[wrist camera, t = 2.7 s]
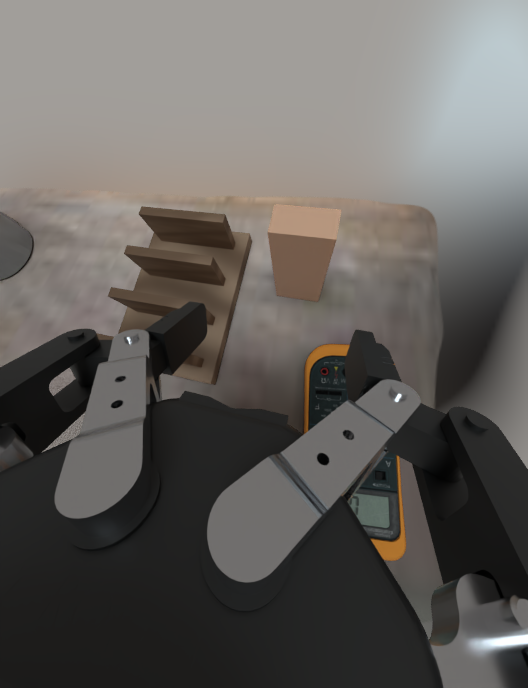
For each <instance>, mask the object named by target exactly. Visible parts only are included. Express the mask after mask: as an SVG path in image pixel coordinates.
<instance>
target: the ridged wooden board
mask: <svg viewBox="0 0 528 688" xmlns="http://www.w3.org/2000/svg"><path fill="white" fill-rule="evenodd" d="M139 215H140V216H141V217H142V218H143V220H144V221H145V222H146V223H147V224H148V226H149V227H150V228H151V229H152V230H153V231H154V234H153V237H152V240H151V243H150V245H149V248H144V247H136V246H128V245H127V247H126V249H125V252H124V254H125V255H126V256H128V257H129V258H130V259H131V260H132V261H134V262H135V263H136V264H137V265H138V266H139V267H141V271H140V274H139V276H138V279H137V282H136V285H135V288H134V291H130V290H124V289H118V288H112V287H111V289H110V292H109V295H108V296H109V297H110V298H112V299H114V300H116V301H118V302H120V303H122V304H124V305H126V306H127V310H126V313H125V316H124V319H123V322H122V324H121V327H120V330H119V333H121V332H124V331H127V330H134V329H140V330H145V329H147V328H148V327H150V326H151V325H152V324H154V323H155V322H157V321H158V320H160V319H161V318H162V317H165V315H167V314H168V313H170V312H171V311H174V310H176V309H179V308H181V307H182V306H184V305H185V304H187V303H188V302H189V301H192V302H198V303H203V304H204V305H205V307H206V317H207V335H206V338H205V339H204V340H203V341H202V343H201V344H200V345H199V346H198V347H197V348H196V349H195V350H194V351H193V353H192V354H191V355H190V356H189V357H188V358H187V359H186V360H185V361H184V363H183V364H182V365H181V366H180V367H179V368H178V369H177V370H176V371H175V373H174V374H173V376H178V377H182V378H186V379H191V380H195V381H200V382H204V383H208V384H216V380H217V376H218V372H219V368H220V364H221V360H222V356H223V352H224V348H225V344H226V341H227V337H228V333H229V329H230V325H231V321H232V317H233V313H234V309H235V305H236V301H237V297H238V294H239V290H240V286H241V282H242V278H243V274H244V270H245V266H246V262H247V258H248V254H249V251H250V247H251V243H252V240H251V237H250V234H249V233H240V232H231V229H230V226H229V224H228V221H227V218H226V215H225V214H214V213H204V212H193V211H183V210H172V209H162V208H151V207H141V210H140V212H139ZM119 333H118V334H119ZM96 334H97V333H96ZM97 336H98V339H99V340H113V338H114V337H112V336H107V335H102V334H97Z"/></svg>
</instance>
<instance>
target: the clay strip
mask: <svg viewBox="0 0 528 688" xmlns="http://www.w3.org/2000/svg"><path fill="white" fill-rule="evenodd" d="M340 216H341V210H338V209H326V208H315V207H303V206H291V205H279V204H274V208H273V213H272V217H271V221H270V225H269V229H268V238H269V245H270V252H271V258H272V265H273V272H274V279H275V286H276V293H277V296H282V297H289V298H296V299H302V300H309V301H315V302H318V300H319V297H320V293H321V290H322V287H323V283H324V280H325V276H326V273H327V270H328V266H329V263H330V259H331V256H332V253H333V249H334V246H335V243H336V239H337V233H338V227H339V222H340Z"/></svg>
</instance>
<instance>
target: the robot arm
mask: <svg viewBox="0 0 528 688" xmlns="http://www.w3.org/2000/svg"><path fill="white" fill-rule="evenodd" d="M31 250H32V238H31V235H30V234H29V232H28V231H27V230H26V229H24V228H23V227H21V226H19V225H18V222H16V221H15V220H13V219H12V218H10V217H8V216H7V215H5V214H4V213H2V212H1V211H0V280H1V279H5V278H7V277H10V276H11V275H13V274H15V273H16V272H17V271H18V270H19V269H21V268H22V266H23V265H24V264H25V263H26V261H27V260H28V258H29V256H30V253H31ZM206 335H207V317H206V307H205V305H204V304H203V303H198V302H192V301H189V302H188V303H187V304H185V305H184V306H182V307H181V308H179V309H176V310H174V311H171V312H170V313H168V314H167V315H165V317H162V318H161V319H160V320H158V321H157V322H155V323H154V324H152V325H151V326H150V327H148V328H147V329H145V330H140V329H134V330H127V331H124V332H121V333H119V334H117V335H116V336H115V337H114V338H113V340H99V339H98V336H97V334H96V332H95V331H94V330H92V329H77V330H73V331H69V332H66V333H64V334H62V335H60V336H58V337H56V338H54V339H53V340H51V341H49V342H47V343H45V344H43V345H41V346H40V347H38V348H36V349H34V350H32V351H30V352H28V353H26V354H25V355H23V356H21V357H19V358H17V359H15V360H13V361H12V362H10V363H8V364H6V365H4V366H2V367H0V688H528V469H527V468H526V466H525V465H524V463H523V462H522V460H521V459H520V457H519V456H518V455H517V453H516V452H515V450H514V449H513V447H512V446H511V444H510V443H509V442H508V440H507V439H506V437H505V436H504V434H503V433H502V431H501V430H500V429H499V427H498V426H497V425H496V424H494V423H493V422H492V421H491V420H489V419H488V418H487V417H485V416H483V415H481V414H480V413H478V412H476V411H474V410H471V409H468V408H464V407H454V408H451V409H450V410H449V412H448V413H447V414H444V413H442V412H440V411H437V410H435V409H433V408H430V407H428V406H426V405H423V404H422V403H421V400H420V397H419V395H418V394H417V393H416V391H414V390H413V389H412V388H411V387H409V386H408V385H406V384H404V383H402V382H401V379H400V377H399V374H398V372H397V369H396V367H395V365H394V362H393V360H392V357H391V355H390V352H389V351H388V350H387V349H386V348H385V347H384V346H383V345H382V344H379V343H376V341H375V338H374V335H373V333H372V332H367V331H362V330H355V332H354V334H353V337H352V340H351V343H350V346H349V349H348V352H347V355H346V359H345V376H346V386H347V396H348V400H347V401H346V402H345V403H343V404H342V405H341V406H339V407H338V408H337V409H336V410H334V411H333V412H332V413H331V414H329V415H328V416H327V417H326V418H324V419H323V420H322V421H320V422H319V423H318V424H317V425H315V426H314V427H313V428H312V429H310V430H309V431H308V432H307V433H305V434H304V435H302V434H301V433H300V432H299V431H297V430H296V429H294V428H293V427H291V426H289V425H287V420H288V416H287V415H283V414H279V413H274V412H270V411H266V410H262V409H234V408H230V407H228V406H226V405H224V404H222V403H220V402H218V401H216V400H214V399H212V398H210V397H208V396H204V395H200V394H196V393H191V392H187V391H185V392H184V393H183V394H182V396H181V397H180V398H176V399H167V400H162V393H161V380H160V376H159V375H160V374H161V373H164V374H169V375H173V374H174V373H175V371H176V370H177V369H178V368H179V367H180V366H181V365H182V364H183V363H184V361H185V360H186V359H187V358H188V357H189V356H190V355H191V354H192V353H193V351H194V350H195V349H196V348H197V347H198V346H199V345H200V344H201V343H202V341H203V340H204V339H205V338H206ZM69 367H70V369H71V370H72V372H73V374H74V376H75V378H76V379H75V380H74V381H73V382H71V383H70V384H69V385H67V386H66V387H65V388H63V389H62V390H61V391H59V392H58V393H57V394H56V395H54V396H53V395H52V394H51V392H50V391H49V384H50V382H51V381H52V379H53V378H55V377H56V376H58V375H59V374H60V373H62V372H63V371H65V370H66V369H68V368H69ZM85 411H86V413H85V417H84V420H83V424H82V428H81V431H80V434H79V435H78V436H76V437H75V438H74V439H71V440H69V441H67V442H65V443H62V444H60V445H58V446H56V447H53V448H51V449H49V450H47V451H45V452H42V451H44V450H45V449H46V448H47V447H48V446H49V445H50V444H51V443H52V442H53V441H54V440H55V439H56V438H57V437H59V436H60V435H61V434H62V433H63V432H64V431H65V430H66V429H67V428H68V427H69V426H70V425H71V424H72V423H74V422H75V421H76V420H77V419H78V418H79V417H80V416H81V415H82V414H83V413H84V412H85ZM388 451H390V452H391V453H393V454H395V455H397V456H399V457H401V458H403V459H405V460H407V461H409V462H410V463H412V465H413V469H414V472H415V476H416V480H417V484H418V488H419V492H420V496H421V499H422V503H423V507H424V511H425V515H426V519H427V522H428V526H429V530H430V534H431V538H432V542H433V546H434V549H435V553H436V557H437V561H438V565H439V569H440V572H441V576H442V580H443V584H444V585H441V586H440V587H438V588H437V589H436V590H435V591H434V593H433V595H432V599H431V611H432V621H433V625H432V633H431V637H430V639H428V637H427V635H426V632H425V630H424V628H423V626H422V624H421V622H420V620H419V618H418V616H417V614H416V612H415V610H414V609H413V607H412V605H411V604H410V602H409V600H408V599H407V597H406V595H405V594H404V592H403V591H402V589H401V587H400V586H399V584H398V583H397V581H396V579H395V578H394V576H393V574H392V573H391V571H390V570H389V568H388V566H387V565H386V563H385V561H384V560H383V558H382V557H381V555H380V553H379V552H378V550H377V549H376V547H375V545H374V544H373V542H372V540H371V539H370V537H369V536H368V534H367V532H366V531H365V529H364V528H363V526H362V524H361V523H360V521H359V519H358V518H357V516H356V515H355V513H354V511H353V510H352V508H351V506H350V505H349V503H348V502H349V501H350V500H351V498H352V497H353V496H354V494H355V493H356V492H357V490H358V489H359V488H360V486H361V485H362V484H363V482H364V481H365V480H366V478H367V477H368V476H369V475H370V473H371V472H372V471H373V470H374V468H375V467H376V466H377V465H378V463H379V462H380V461H381V460H382V458H383V457H384V456H385V455H386V454H387V452H388ZM41 452H42V453H41Z"/></svg>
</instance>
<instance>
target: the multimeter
mask: <svg viewBox="0 0 528 688" xmlns="http://www.w3.org/2000/svg"><path fill="white" fill-rule="evenodd" d="M349 346H350V345H346V344H326V345H322V346H319V347H317V348H316V349H315V350H313V351H312V352H311V353H310V355H309V357H308V359H307V361H306V364H305V372H304V434H305V433H307V432H308V431H309V430H310V429H312V428H313V427H314V426H315V425H317V424H318V423H319V422H320V421H322V420H323V419H324V418H326V417H327V416H328V415H329V414H331V413H332V412H333V411H334V410H336V409H337V408H338V407H339V406H341V405H342V404H343V403H345V402H346V401H347V400H348V396H347V386H346V376H345V359H346V355H347V352H348V349H349ZM394 365H395V364H394ZM348 503H349V505H350V506H351V508H352V510H353V511H354V513H355V515H356V516H357V518H358V519H359V521H360V523H361V524H362V526H363V528H364V529H365V531H366V532H367V534H368V536H369V537H370V539H371V540H372V542H373V544H374V545H375V547H376V549H377V550H378V552H379V553H380V555H381V557H382V558H383V560H388V561H394V560H398V559H399V558H401V557H402V556H403V554H404V553H405V550H406V536H405V525H404V514H403V504H402V493H401V476H400V458H399V456H397V455H395V454H393V453H391V452H390V451H388V452H387V454H386V455H385V456H384V457H383V458H382V460H381V461H380V462H379V463H378V465H377V466H376V467H375V468H374V470H373V471H372V472H371V473H370V475H369V476H368V477H367V478H366V480H365V481H364V482H363V484H362V485H361V486H360V488H359V489H358V490H357V492H356V493H355V494H354V496H353V497H352V498H351V500H350V501H349V502H348Z"/></svg>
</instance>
